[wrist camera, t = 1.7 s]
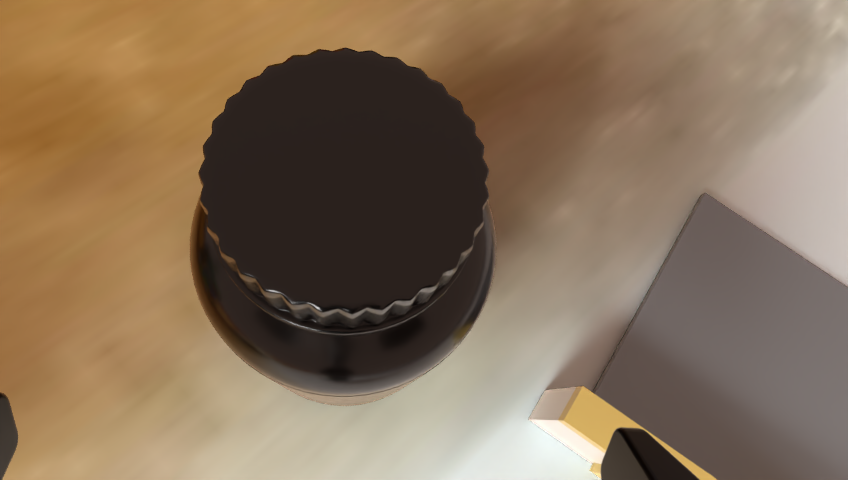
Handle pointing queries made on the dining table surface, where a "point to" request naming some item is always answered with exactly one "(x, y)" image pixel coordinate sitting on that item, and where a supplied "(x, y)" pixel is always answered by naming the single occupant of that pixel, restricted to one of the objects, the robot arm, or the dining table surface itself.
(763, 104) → the dining table surface
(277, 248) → the supplement bottle
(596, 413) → the rail
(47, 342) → the dining table surface
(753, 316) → the shelf mat
